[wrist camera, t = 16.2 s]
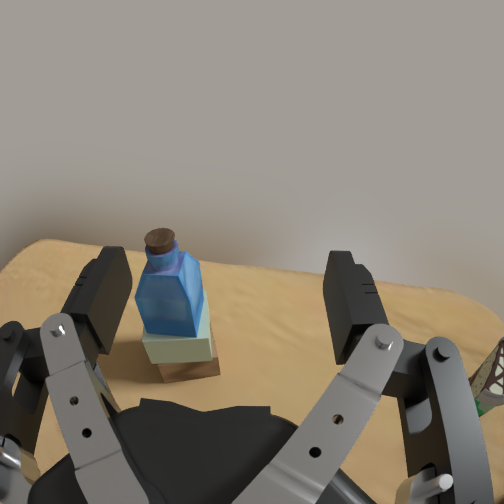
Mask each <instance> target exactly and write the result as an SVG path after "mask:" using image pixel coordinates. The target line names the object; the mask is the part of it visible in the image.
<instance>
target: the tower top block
mask: <svg viewBox="0 0 504 504" xmlns="http://www.w3.org/2000/svg"><path fill="white" fill-rule="evenodd" d="M203 295H204V303H203V308H202V313H201V318H200V324H199V329H198V334H197V338H196V337H183V336H171V335H160V334H150V333H147V332H146V329H145V326H144V328H143V338H142V343H143V345H144V348H145V350H146V352H147V355H148V357H149V359H150V361H151V364H161V363H185V362H201V361H212V351H211V336H210V320H209V309H208V301H207V294H206V290H203Z"/></svg>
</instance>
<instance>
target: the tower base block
mask: <svg viewBox="0 0 504 504" xmlns="http://www.w3.org/2000/svg"><path fill="white" fill-rule="evenodd" d="M209 320H210V319H209ZM210 336H211V351H212V361H201V362H185V363H161V364H158V368H159V370H160V373H161V375H162V377H163V380H164V382H165V383H172V382H179V381H186V380H192V379H199V378H205V377H211V376H217V375H220V368H219V360H218V355H217V350H216V346H215V341H214V337H213V332H212V328H211V323H210Z"/></svg>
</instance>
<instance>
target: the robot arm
mask: <svg viewBox="0 0 504 504" xmlns="http://www.w3.org/2000/svg"><path fill="white" fill-rule="evenodd" d="M131 289H132V275H131V271H130V268H129V264H128V261H127V257H126V254H125V251H124V248H123V247H118V246H117V247H116V246H105V247H103V249H102V250H101V252H100V254H99V256H98V258H97V259H92V260H91V261H90V262H89V263H88V264H87V265H86V266H85V267H84V268H83V270H82V272H81V273H80V275H79V278H78V279H77V281H76V283H75V286H73V288H72V290H71V292H70V294H69V296H68V298H67V300H66V302H65V304H64V306H63V308H62V310H61V312H60V313H57V314H54V315H51V316H50V317H48V318H47V319H46V320H45V321H44V322H43V324H42V326H41V327H39V328H34V329H28V330H25V329H24V328H23V326H22V325H21V324H20V323H19V322H17V321H10V322H8V323H6V324H4V325H3V326H2V327H1V328H0V503H3V504H377V503H376V502H375V501H373V500H372V499H371V498H370V497H369V496H368V495H367V494H366V493H365V492H364V491H363V490H362V489H361V488H360V487H359V486H358V485H357V484H356V483H355V482H353V481H352V480H351V479H350V478H349V477H348V476H347V475H346V474H345V473H344V472H343V471H342V470H341V469H340V468H339V467H340V466H341V464H342V463H343V461H344V460H345V458H346V457H347V455H348V454H349V452H350V450H351V449H352V447H353V446H354V444H355V442H356V441H357V439H358V438H359V436H360V434H361V433H362V431H363V429H364V427H365V426H366V424H367V422H368V420H369V419H370V417H371V415H372V413H373V412H374V410H375V408H376V406H377V404H378V402H379V400H380V398H381V395H386V396H391V397H396V398H397V401H398V407H399V413H400V419H401V425H402V432H403V439H404V447H405V455H406V463H407V472H408V478H407V479H406V480H404V481H403V482H402V483H401V484H400V486H399V487H398V489H397V492H396V499H395V504H494V496H493V488H492V481H491V474H490V468H489V462H488V457H487V452H486V447H485V442H484V437H483V433H482V428H481V424H480V420H479V416H478V412H477V408H476V405H475V401H474V397H473V394H472V391H471V387H470V384H469V381H468V377H467V374H466V371H465V368H464V365H463V362H462V359H461V356H460V353H459V350H458V348H457V347H456V345H455V344H454V343H453V342H452V341H450V340H449V339H447V338H444V337H434V338H432V339H430V340H429V341H428V342H427V344H426V345H424V344H419V343H415V342H410V341H407V340H404V339H403V338H402V336H401V334H400V333H399V332H398V331H397V330H396V329H395V328H393V327H392V326H390V325H389V323H388V320H387V317H386V314H385V311H384V308H383V305H382V302H381V300H380V297H379V294H378V291H377V289H376V286H375V283H374V280H373V278H372V275H371V273H370V272H369V271H368V270H367V269H366V268H365V267H364V266H363V265H362V264H355V263H354V260H353V257H352V254H351V252H350V251H330V253H329V257H328V262H327V266H326V271H325V276H324V280H323V296H324V301H325V306H326V311H327V316H328V322H329V327H330V332H331V338H332V343H333V349H334V354H335V360H336V365H342V364H345V365H344V367H343V368H342V370H341V371H340V373H338V374H337V375H336V376H335V377H334V379H333V380H332V382H331V383H330V385H329V386H328V388H327V389H326V390H325V392H324V393H323V395H322V396H321V398H320V399H319V400H318V402H317V403H316V405H315V406H314V407H313V409H312V410H311V411H310V413H309V414H308V415H307V417H306V418H305V419H304V421H303V422H302V423H301V425H300V426H299V427H298V426H297V425H296V424H294V423H292V422H291V421H289V420H287V419H285V418H282V417H279V416H276V415H272V414H270V406H234V407H229V408H224V409H218V410H213V411H207V412H201V411H198V410H194V409H191V408H188V407H185V406H182V405H179V404H176V403H174V402H171V401H161V400H153V399H145V398H141V400H140V405H139V406H136V407H132V408H128V409H126V410H123V411H121V409H120V408H119V406H118V405H117V403H116V401H115V399H114V398H113V395H112V393H111V391H110V389H109V387H108V385H107V382H106V380H105V378H104V376H103V373H102V371H101V369H100V366H99V364H98V362H97V357H98V354H106V355H109V352H110V349H111V346H112V343H113V340H114V337H115V334H116V331H117V329H118V326H119V323H120V320H121V317H122V314H123V311H124V309H125V306H126V303H127V300H128V298H129V295H130V292H131ZM18 371H19V372H20V373H21V375H20V378H19V381H18V384H17V387H16V390H15V393H14V396H12V387H13V384H14V381H15V379H16V376H17V373H18ZM48 394H49V395H50V399H51V402H52V405H53V408H54V412H55V415H56V418H57V421H58V424H59V426H60V429H61V432H62V435H63V438H64V440H65V443H66V445H67V448H68V451H69V453H68V454H67V455H66V456H65V457H64V458H62V459H61V460H60V461H59V462H58V463H56V464H55V465H54V466H53V467H51V468H50V469H49V470H48V471H47V472H45V473H44V474H43V475H42V476H41V477H40V475H41V473H40V470H39V468H38V466H37V462H36V459H35V458H34V451H35V447H36V442H37V437H38V433H39V429H40V425H41V420H42V416H43V413H44V409H45V405H46V401H47V398H48Z"/></svg>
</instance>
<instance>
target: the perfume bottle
mask: <svg viewBox="0 0 504 504" xmlns="http://www.w3.org/2000/svg"><path fill="white" fill-rule="evenodd" d="M174 237H175V234H174V232H173V231H172V230H170V229H167V228H158V229H155V230H152V231H150V232H149V233H147V235H146V236H145V238H144V241H145V243H146V247H145V252H146V256H147V259H148V261H147V263H146V265H145V268H144V270H143V272H142V275H141V278H140V281H139V285H138V288H137V291H136V294H135V301H136V304H137V306H138V309H139V312H140V315H141V318H142V321H143V324H144V326H145V329H146V332H147V333H150V334H160V335H171V336H183V337H196V338H197V334H198V329H199V324H200V318H201V313H202V308H203V303H204V295H203V287H202V279H201V271H200V263H199V262H198V261H197V260H196V259H194V258H193V257H192V256H191V255H190V254H188V253H187V252H185V251H179V250H178V244H177V241H176V240H174Z"/></svg>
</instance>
